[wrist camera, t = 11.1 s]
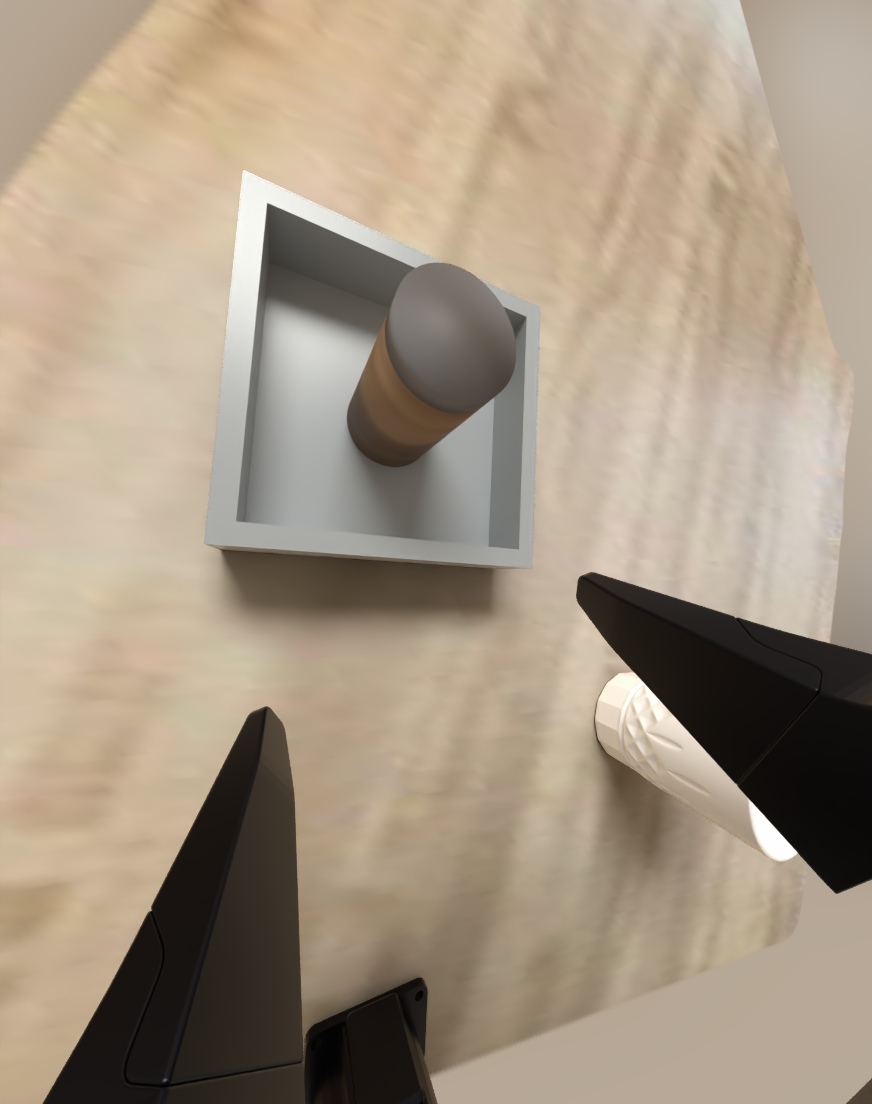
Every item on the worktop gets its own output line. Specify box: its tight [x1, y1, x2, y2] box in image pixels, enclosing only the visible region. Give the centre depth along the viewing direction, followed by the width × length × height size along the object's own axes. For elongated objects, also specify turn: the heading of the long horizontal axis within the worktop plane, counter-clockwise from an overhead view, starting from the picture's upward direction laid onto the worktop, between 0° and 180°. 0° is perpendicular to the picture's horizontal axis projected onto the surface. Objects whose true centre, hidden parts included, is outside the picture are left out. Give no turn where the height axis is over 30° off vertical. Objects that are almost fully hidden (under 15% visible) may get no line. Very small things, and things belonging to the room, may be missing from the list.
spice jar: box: [347, 263, 516, 467], centre depth 16 cm, size 5×5×8 cm
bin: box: [204, 170, 540, 569], centre depth 19 cm, size 16×16×4 cm
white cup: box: [595, 672, 797, 862], centre depth 23 cm, size 8×8×10 cm
